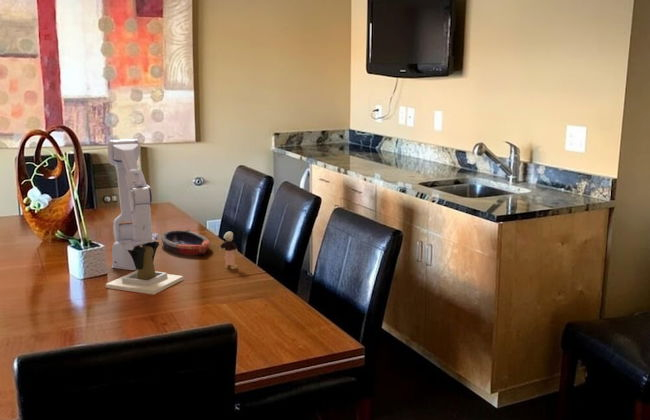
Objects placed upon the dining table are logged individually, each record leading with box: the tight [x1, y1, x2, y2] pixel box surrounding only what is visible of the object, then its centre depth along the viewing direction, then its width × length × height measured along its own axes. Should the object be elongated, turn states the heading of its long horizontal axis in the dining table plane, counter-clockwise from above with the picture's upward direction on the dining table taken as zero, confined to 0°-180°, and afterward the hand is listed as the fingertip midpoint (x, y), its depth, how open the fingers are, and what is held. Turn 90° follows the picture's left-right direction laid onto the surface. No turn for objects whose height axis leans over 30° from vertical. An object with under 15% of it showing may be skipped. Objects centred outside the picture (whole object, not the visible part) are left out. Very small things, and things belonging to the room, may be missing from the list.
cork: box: [137, 245, 156, 280], centre depth 215 cm, size 6×6×11 cm
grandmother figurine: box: [219, 231, 239, 270], centre depth 233 cm, size 8×4×13 cm, turn 71°
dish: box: [160, 229, 211, 256], centre depth 258 cm, size 16×31×5 cm, turn 32°
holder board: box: [105, 269, 184, 295], centre depth 216 cm, size 18×16×3 cm
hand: (144, 266), depth 215 cm, fingers closed on cork, 5 cm apart
